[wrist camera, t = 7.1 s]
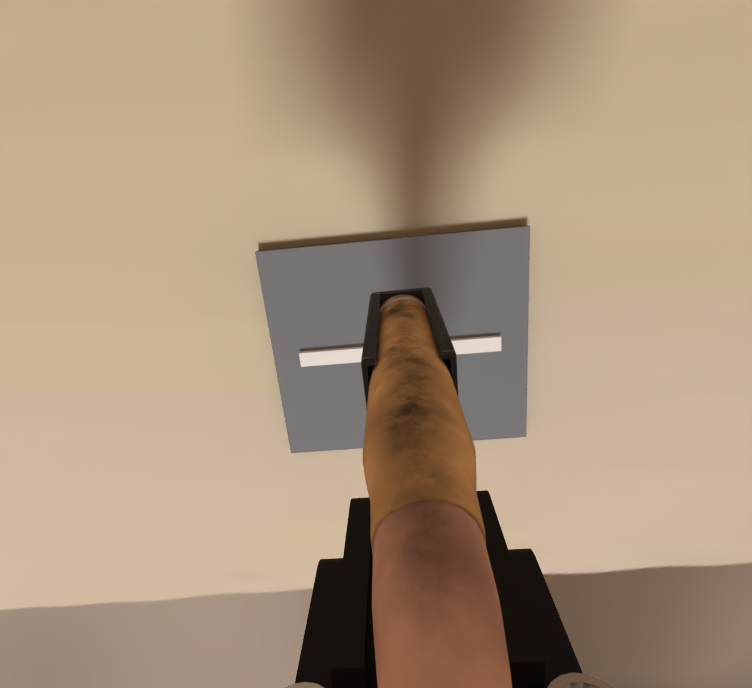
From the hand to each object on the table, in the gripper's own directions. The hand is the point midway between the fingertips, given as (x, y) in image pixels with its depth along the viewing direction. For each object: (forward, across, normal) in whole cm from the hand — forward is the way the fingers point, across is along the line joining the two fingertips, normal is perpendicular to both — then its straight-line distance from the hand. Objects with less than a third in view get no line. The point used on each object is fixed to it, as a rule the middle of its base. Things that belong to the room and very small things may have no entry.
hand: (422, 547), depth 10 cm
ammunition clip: (+5, 0, 0) cm, 5 cm away
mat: (+15, 0, 0) cm, 15 cm away
